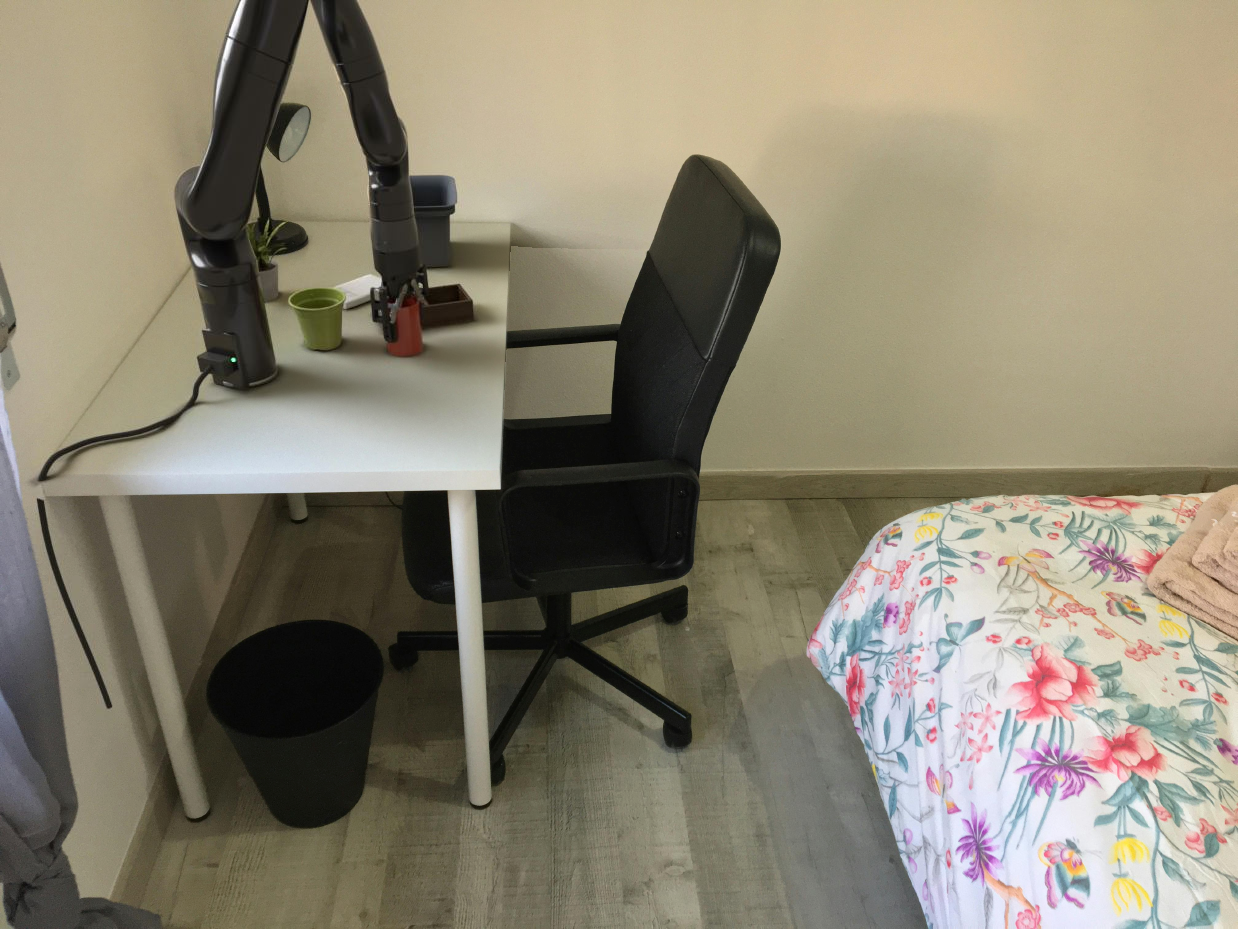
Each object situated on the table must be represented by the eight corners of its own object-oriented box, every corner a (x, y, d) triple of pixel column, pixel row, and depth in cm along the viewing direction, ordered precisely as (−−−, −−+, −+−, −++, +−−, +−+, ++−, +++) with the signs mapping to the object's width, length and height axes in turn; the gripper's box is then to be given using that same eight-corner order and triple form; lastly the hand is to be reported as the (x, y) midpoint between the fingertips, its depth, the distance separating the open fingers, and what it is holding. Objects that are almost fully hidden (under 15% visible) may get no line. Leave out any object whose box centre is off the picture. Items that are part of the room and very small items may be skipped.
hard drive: (397, 291, 180) (346, 310, 172) (369, 281, 184) (319, 298, 176) (396, 283, 179) (345, 302, 171) (369, 273, 183) (318, 290, 175)
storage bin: (462, 271, 190) (458, 204, 183) (386, 274, 188) (379, 205, 180) (458, 237, 208) (454, 174, 200) (388, 239, 205) (382, 175, 197)
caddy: (474, 320, 170) (472, 300, 168) (384, 333, 164) (381, 312, 162) (460, 303, 177) (459, 283, 174) (374, 315, 170) (371, 294, 168)
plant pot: (362, 344, 160) (356, 298, 155) (314, 360, 154) (307, 313, 149) (333, 328, 165) (326, 282, 160) (285, 343, 159) (277, 296, 154)
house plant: (201, 304, 171) (182, 219, 162) (245, 278, 183) (230, 198, 174) (268, 315, 168) (252, 229, 160) (309, 288, 180) (296, 207, 171)
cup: (411, 359, 156) (406, 310, 151) (381, 352, 158) (375, 304, 153) (429, 345, 161) (425, 297, 156) (399, 339, 162) (395, 291, 157)
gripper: (398, 225, 155) (407, 313, 164) (350, 252, 144) (362, 344, 153) (437, 231, 153) (444, 320, 162) (391, 259, 142) (401, 352, 151)
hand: (404, 332), depth 158 cm, fingers open, 8 cm apart
